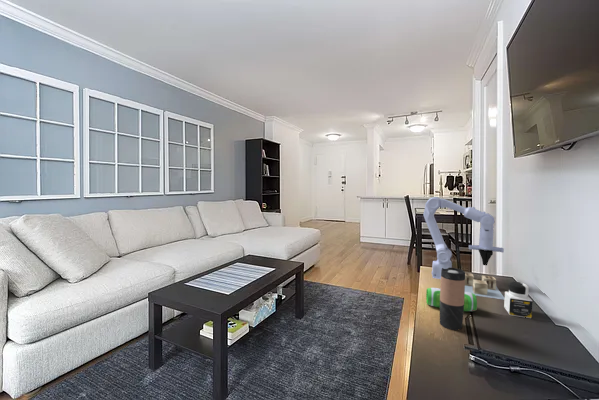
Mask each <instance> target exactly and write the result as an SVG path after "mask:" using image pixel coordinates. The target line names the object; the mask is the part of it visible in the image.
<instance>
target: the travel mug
mask: <svg viewBox="0 0 599 400" xmlns="http://www.w3.org/2000/svg"><path fill="white" fill-rule="evenodd" d="M465 273H466V271H465V270H462V269H460V268H455V267H452V268H448V269H443V268H442V269H441V279H440V308H439V324H440V326H442V327H443V328H445V329H448V330H452V331H459V330H458V329H460V330H462V329H463V321H464V312H465V311H464V294H465ZM461 328H462V329H461Z"/></svg>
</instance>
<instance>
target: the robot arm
mask: <svg viewBox="0 0 599 400" xmlns="http://www.w3.org/2000/svg"><path fill="white" fill-rule="evenodd" d="M444 208H447V209H451V210H453V211H456V212H458V213H461V214H462V215H463V217H464V218H467V219H468V220H469V219H470V220H471V221H473V222H475V223H480V227H479V239H478V240H479V241H478V242H479V243H478V245H477V244H476V245H475V244H468V250H474V251H475V250H476V251H478V252H479V255H480V257H481V262H482V265H483V266H488V263H489V261H490V259H491V257H492V256H493V254H494V252H498V253H504V251H505V248H503V247H499V246H494V233H495V231H494V228H495V227H494V224H495V218H494V216H493V215H491V214H490V213H487V212H486V211H482V210H479V209H476V207H475V206H468V207H465V206H462V205H460V204H458V203H455V202H453V201H450V200H448V199H444V198H443V197H442V198H440V197H438V196H433V197H430V198H429V199H428V200H427V201H426V202H425V204H424V210H423V218H424V221H425V223H426V226H427V229H428V230H429V233H430V236H431V238H432V240H433V243H434V245H435V251H436V260H433V261H432V265H431V267H432V270H431V276H432V279H436V280H437V279H439V280H441V269H442V268H443V269H448V268H453V267H452V265H453V264H452V263H453V261H451V260H452V259H451V258H452V257H453V253H452V251H451V250H450V249H449V247H448V245H447V244H446V242H445V241H444V238H443V235H442V232H441V231H440V228H439V225H438V222H437V221H436V218H435V214H436V212H437V210H438V209H444Z"/></svg>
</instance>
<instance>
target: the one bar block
mask: <svg viewBox="0 0 599 400" xmlns="http://www.w3.org/2000/svg"><path fill="white" fill-rule="evenodd" d="M473 279H474V280H475V276H474V274H473V273H470V272H469V273H468V272H465V286H473Z"/></svg>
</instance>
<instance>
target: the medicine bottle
mask: <svg viewBox="0 0 599 400" xmlns="http://www.w3.org/2000/svg"><path fill="white" fill-rule="evenodd" d="M508 284H509V285H508V291H504V298H505V299H504V301H503V302H504V304H503V308H504V309H505V310H506V312H507V314H508V315H509V316H512V317H520V318H525V317H526V318H525V319H532V317H533V300H532V299H531V297H529V288H530V287H529V285H527V284H525V283H524V282H519V281H511V282H509V283H508Z"/></svg>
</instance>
